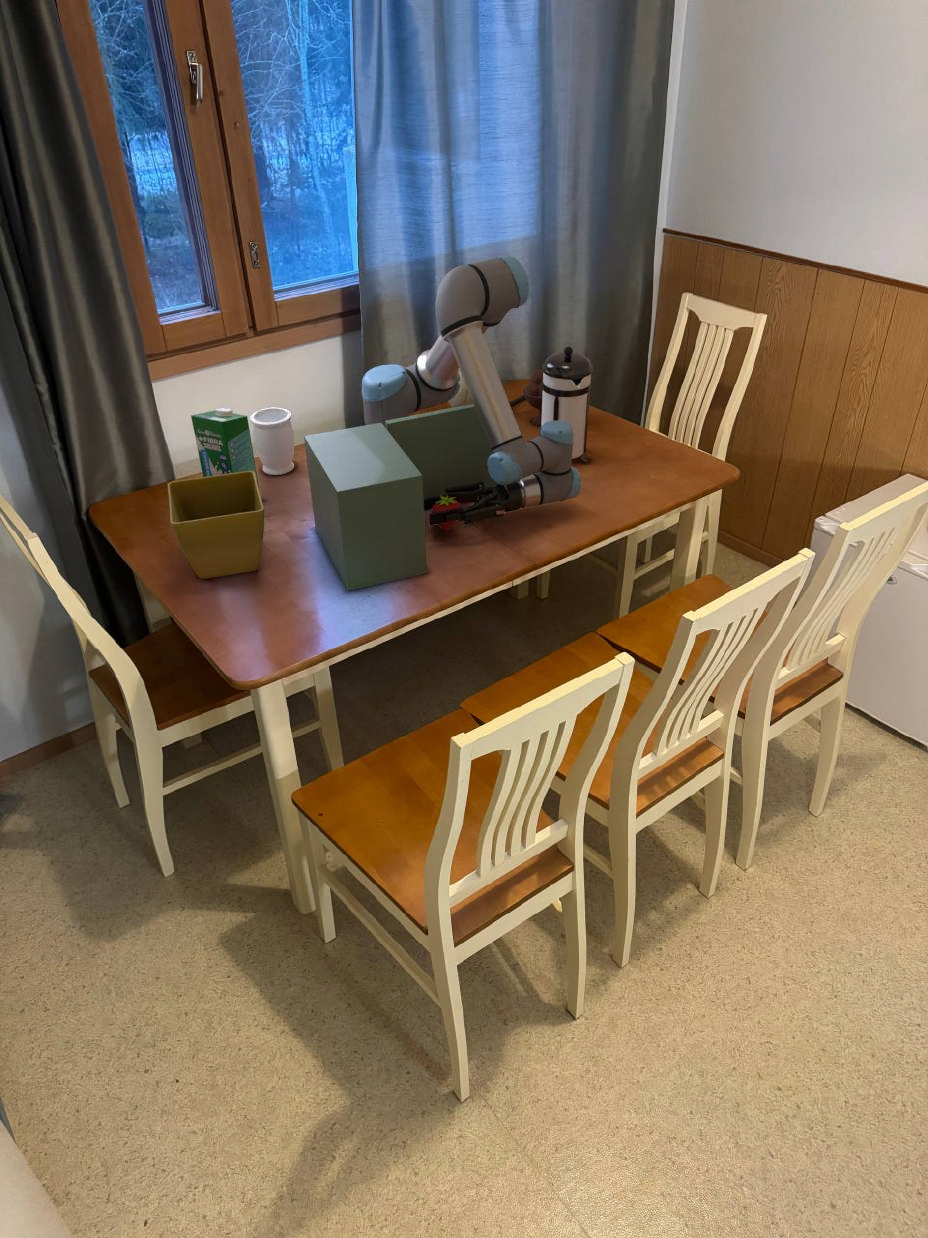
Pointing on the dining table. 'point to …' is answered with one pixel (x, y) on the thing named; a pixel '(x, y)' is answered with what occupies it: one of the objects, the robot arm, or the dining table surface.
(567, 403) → the coffee press
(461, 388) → the cantaloupe
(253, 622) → the dining table surface
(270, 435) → the jar
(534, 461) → the robot arm
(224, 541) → the flower pot
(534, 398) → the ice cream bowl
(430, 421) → the cupboard door
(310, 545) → the dining table surface
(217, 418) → the milk carton
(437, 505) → the strawberry
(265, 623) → the dining table surface
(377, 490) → the cupboard
